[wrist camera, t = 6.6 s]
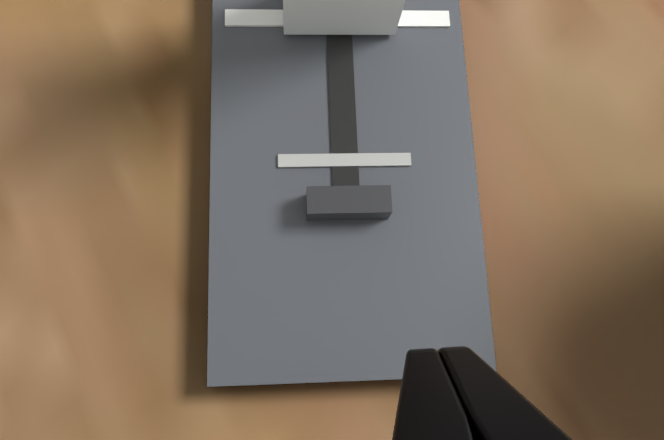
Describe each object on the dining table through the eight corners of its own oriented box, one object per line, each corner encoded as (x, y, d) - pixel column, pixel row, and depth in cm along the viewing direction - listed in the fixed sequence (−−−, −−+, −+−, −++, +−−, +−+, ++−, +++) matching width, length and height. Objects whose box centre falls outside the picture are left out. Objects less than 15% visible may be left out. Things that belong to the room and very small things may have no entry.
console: (487, 375, 21) (507, 375, 20) (211, 385, 21) (202, 387, 19) (446, -48, 26) (458, -82, 24) (216, -52, 25) (210, -87, 23)
